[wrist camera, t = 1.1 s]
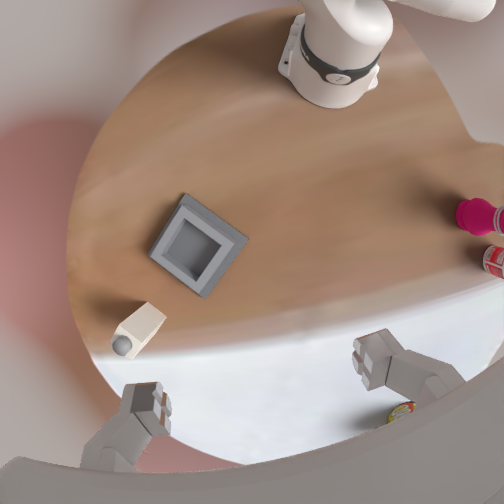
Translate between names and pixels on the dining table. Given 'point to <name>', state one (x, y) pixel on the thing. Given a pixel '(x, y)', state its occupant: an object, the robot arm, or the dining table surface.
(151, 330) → the spigot peg
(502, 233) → the pepper mill
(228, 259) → the socket dock
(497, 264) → the pill bottle
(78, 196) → the dining table surface
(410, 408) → the yellow tin can
